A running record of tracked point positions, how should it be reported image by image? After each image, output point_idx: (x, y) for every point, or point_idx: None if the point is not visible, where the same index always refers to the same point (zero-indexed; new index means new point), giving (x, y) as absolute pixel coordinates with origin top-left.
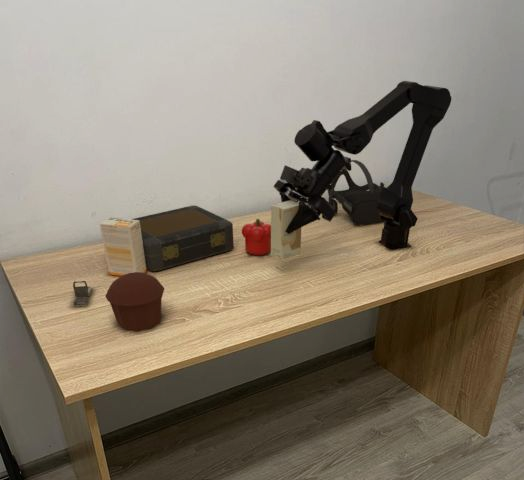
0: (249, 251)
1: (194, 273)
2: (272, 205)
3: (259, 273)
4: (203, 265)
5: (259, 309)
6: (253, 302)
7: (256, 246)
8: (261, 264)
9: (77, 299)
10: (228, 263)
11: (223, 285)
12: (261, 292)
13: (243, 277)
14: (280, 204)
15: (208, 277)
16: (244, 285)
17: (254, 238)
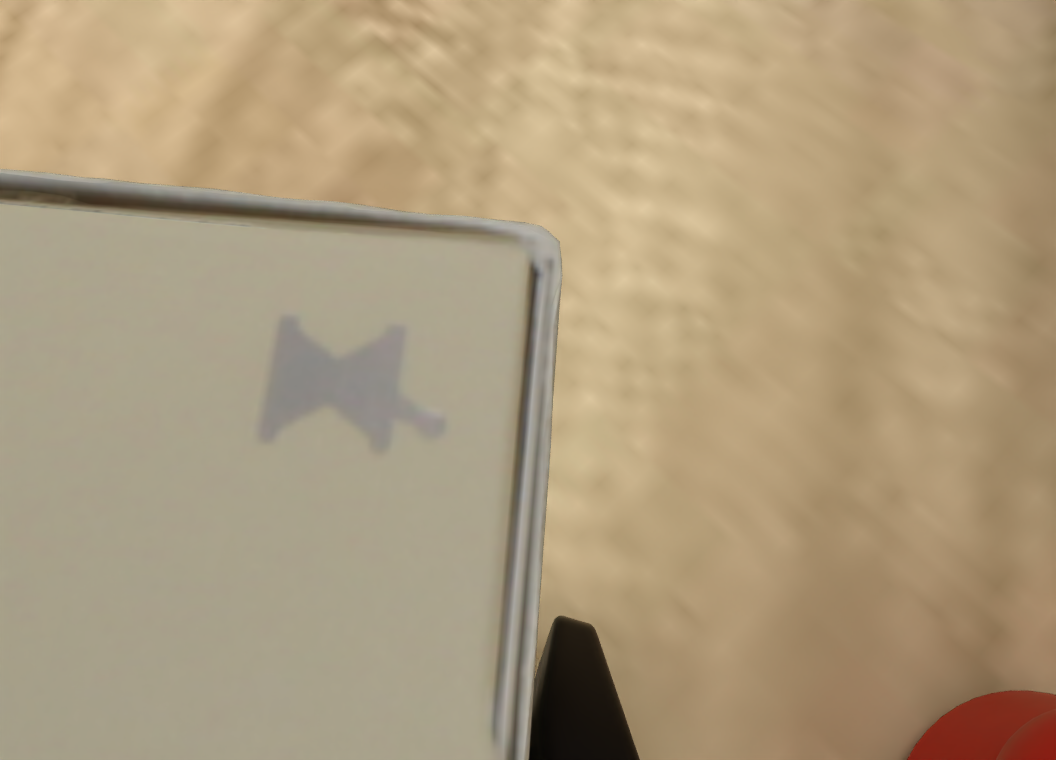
0: (1017, 691)
1: (955, 78)
2: (466, 240)
3: (581, 440)
4: (1052, 219)
5: (137, 10)
6: (242, 51)
7: (983, 740)
8: (725, 608)
9: None
10: (954, 397)
11: (619, 87)
12: (304, 195)
13: (620, 286)
14: (180, 626)
15: (818, 102)
16: (498, 190)
17: (1048, 714)
